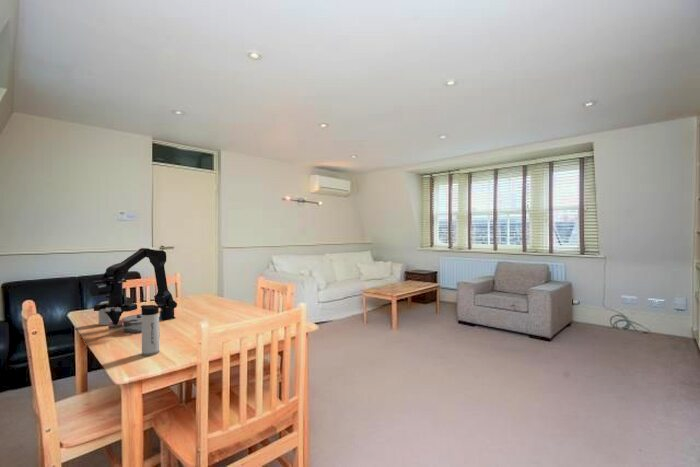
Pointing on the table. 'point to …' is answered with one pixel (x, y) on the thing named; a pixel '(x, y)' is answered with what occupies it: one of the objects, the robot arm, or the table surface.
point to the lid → (129, 319)
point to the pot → (130, 327)
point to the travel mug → (150, 330)
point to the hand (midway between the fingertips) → (115, 325)
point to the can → (104, 317)
